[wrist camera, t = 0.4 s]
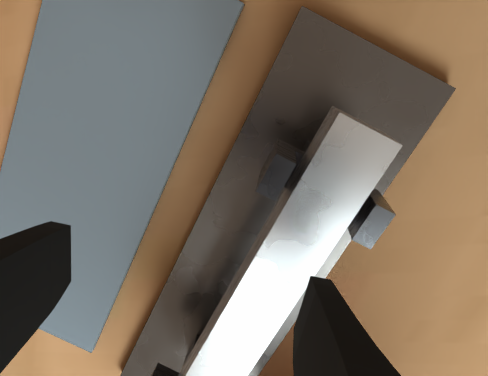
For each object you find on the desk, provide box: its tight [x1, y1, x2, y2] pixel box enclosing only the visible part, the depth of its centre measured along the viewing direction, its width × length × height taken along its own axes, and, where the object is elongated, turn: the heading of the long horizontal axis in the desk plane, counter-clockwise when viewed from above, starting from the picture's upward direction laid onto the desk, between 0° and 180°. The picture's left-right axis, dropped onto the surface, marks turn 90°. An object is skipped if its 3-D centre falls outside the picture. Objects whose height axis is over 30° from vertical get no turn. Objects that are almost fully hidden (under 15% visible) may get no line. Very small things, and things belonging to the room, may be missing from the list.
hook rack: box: [121, 6, 456, 376], centre depth 19 cm, size 26×8×7 cm, turn 154°
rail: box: [177, 105, 403, 376], centre depth 16 cm, size 20×2×2 cm, turn 154°
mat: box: [0, 0, 244, 353], centre depth 21 cm, size 24×9×1 cm, turn 154°
